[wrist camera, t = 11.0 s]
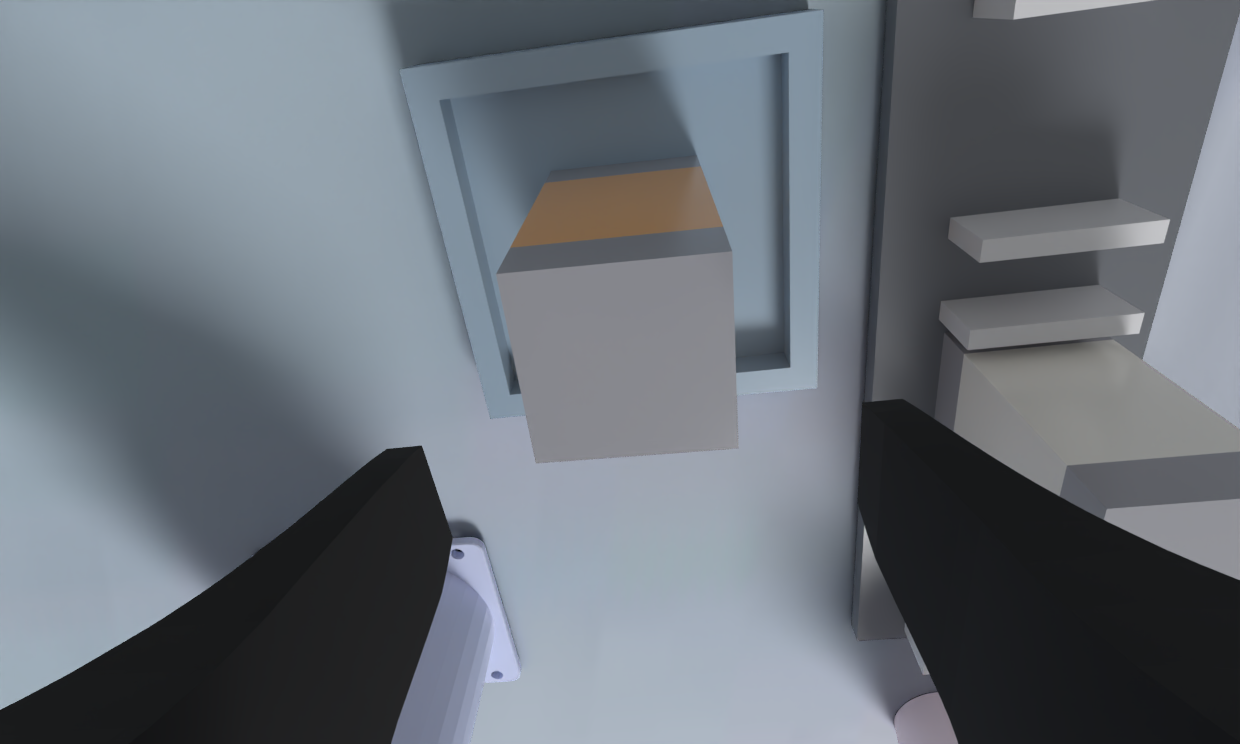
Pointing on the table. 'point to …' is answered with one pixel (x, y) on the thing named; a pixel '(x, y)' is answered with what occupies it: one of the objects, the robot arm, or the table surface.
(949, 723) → the smoothie
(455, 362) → the table surface
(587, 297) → the block
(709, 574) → the table surface
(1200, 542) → the block
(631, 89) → the tray
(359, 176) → the table surface
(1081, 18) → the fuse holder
